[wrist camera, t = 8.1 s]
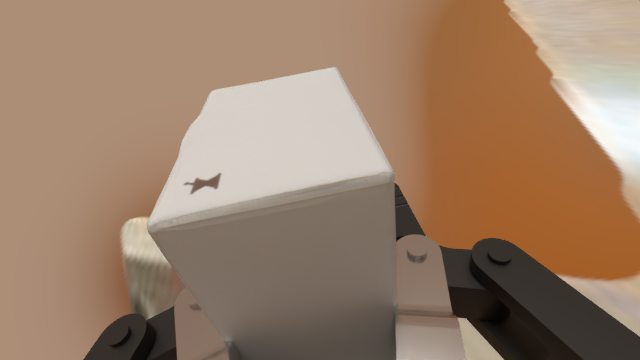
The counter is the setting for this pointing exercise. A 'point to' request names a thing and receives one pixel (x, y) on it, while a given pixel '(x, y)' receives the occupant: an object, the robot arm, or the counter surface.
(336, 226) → the skincare box
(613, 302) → the counter surface
